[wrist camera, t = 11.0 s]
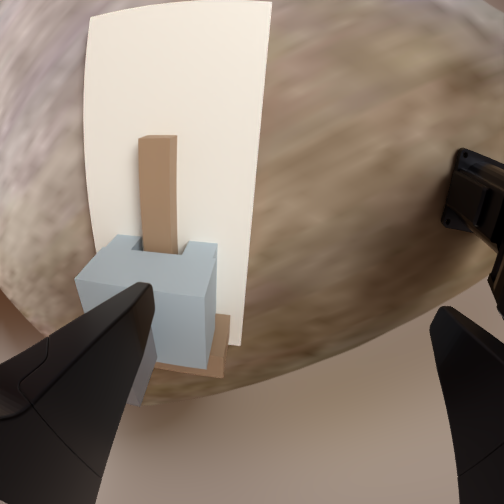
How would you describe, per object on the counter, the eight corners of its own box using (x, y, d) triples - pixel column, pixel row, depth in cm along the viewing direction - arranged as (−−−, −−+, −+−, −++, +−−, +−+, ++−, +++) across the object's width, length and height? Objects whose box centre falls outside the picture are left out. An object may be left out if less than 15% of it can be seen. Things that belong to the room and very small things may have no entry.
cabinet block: (220, 243, 20) (188, 355, 12) (218, 311, 23) (196, 421, 14) (115, 234, 20) (39, 322, 12) (125, 298, 23) (74, 391, 15)
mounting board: (271, 9, 14) (273, -26, 9) (241, 334, 26) (235, 387, 21) (100, 20, 14) (51, 6, 9) (119, 316, 26) (94, 361, 21)
